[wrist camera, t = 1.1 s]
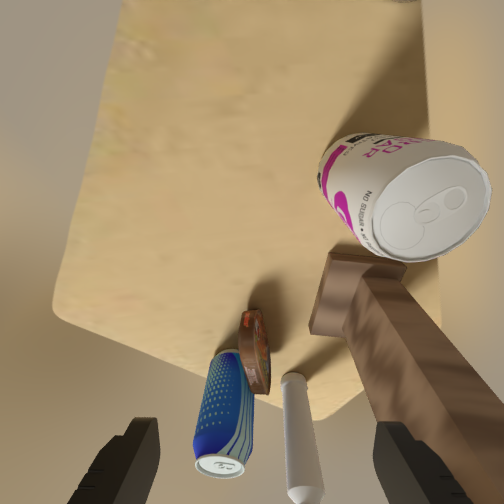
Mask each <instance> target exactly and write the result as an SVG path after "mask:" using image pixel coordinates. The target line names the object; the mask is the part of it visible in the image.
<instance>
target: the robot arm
mask: <svg viewBox="0 0 504 504" xmlns="http://www.w3.org/2000/svg"><path fill="white" fill-rule="evenodd" d="M392 1H396V2H412V1H415V0H392ZM159 459H160V442H159V432H158V423H157V418H150V417H149V418H148V417H147V418H146V417H135V418H134V419H133V420H132V421H131V423H130V424H129V426H128V428H127V430H126V432H125V433H124V435H123V436H117V435H115V436H114V437H113V438H112V439H111V440H110V441H109V442H108V443H107V444H106V445H105V446H104V447H103V448H102V449H101V450H100V451H99V453H98V454H97V456H96V458H95V459H94V461H93V463H92V464H91V466H90V467H89V469H88V473H86V474H85V475H84V477H83V479H82V481H81V482H80V484H79V485H78V489H77V490H75V492H74V493H73V495H72V497H71V498H70V500H69V501H68V503H67V504H145V503H146V500H147V498H148V495H149V492H150V489H151V486H152V483H153V481H154V478H155V475H156V472H157V469H158V465H159ZM373 462H374V467H375V471H376V474H377V476H378V479H379V481H380V483H381V486H382V488H383V490H384V492H385V495H386V497H387V499H388V502H389V504H474V503H473V502H472V501H471V499H470V498H468V497H467V495H466V492H465V491H464V489H463V488H462V487H461V485H460V484H459V482H458V481H457V480H455V479H454V476H453V474H452V473H451V471H450V470H449V469H448V467H447V466H446V464H445V463H444V462H443V460H442V459H441V457H440V456H439V455H438V454H437V453H435V452H434V451H433V450H432V449H431V448H430V447H429V446H428V445H427V444H426V443H424V442H423V441H422V440H415V439H414V438H413V436H412V435H411V433H410V432H409V430H408V429H407V427H406V426H405V425H404V424H403V423H402V422H400V421H379V422H378V423H377V427H376V435H375V442H374V449H373Z"/></svg>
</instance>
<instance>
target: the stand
mask: <svg viewBox="0 0 504 504" xmlns="http://www.w3.org/2000/svg"><path fill="white" fill-rule="evenodd" d="M406 269H407V267H406V266H405V265H404V264H403V263H402V262H401V261H398V260H394V259H387V258H377V257H367V256H357V255H346V254H336V253H328V257H327V261H326V264H325V268H324V271H323V275H322V278H321V282H320V286H319V289H318V293H317V296H316V300H315V304H314V307H313V311H312V314H311V318H310V322H309V330H310V334H311V335H321V336H331V337H341V338H346V341H347V344H348V346H349V349H350V352H351V354H352V357H353V360H354V362H355V365H356V368H357V370H358V373H359V376H360V378H361V381H362V384H363V386H364V389H365V391H366V394H367V397H368V399H369V402H370V404H371V407H372V410H373V412H374V415H375V418H376V421H377V423H378V422H379V421H400V422H402V423H403V424H404V425H405V426H406V427H407V429H408V430H409V432H410V433H411V435H412V436H413V438H414V439H415V440H422V441H423V442H424V443H426V444H427V445H428V446H429V447H430V448H431V449H432V450H433V451H434V452H435V453H437V454H438V455H439V456H440V457H441V459H442V460H443V462H444V463H445V464H446V466H447V467H448V469H449V470H450V471H451V473H452V474H453V476H454V479H455V480H457V481H458V482H459V484H460V485H461V487H462V488H463V489H464V491H465V492H466V495H467V497H468V498H470V499H471V501H472V502H473V503H474V504H504V404H503V403H502V402H501V400H500V399H499V398H498V397H497V396H496V394H495V393H494V392H493V391H492V390H491V389H490V387H489V386H488V385H487V384H486V383H485V382H484V380H483V379H482V378H481V377H480V376H479V374H478V373H477V372H476V371H475V370H474V369H473V367H472V366H471V365H470V364H469V363H468V361H467V360H466V359H465V358H464V357H463V356H462V354H461V353H460V352H459V351H458V350H457V349H456V347H455V346H454V345H453V344H452V343H451V342H450V340H449V339H448V338H447V337H446V336H445V334H444V333H443V332H442V331H441V330H440V329H439V327H438V326H437V325H436V324H435V323H434V322H433V320H432V319H431V318H430V317H429V316H428V314H427V313H426V312H425V311H424V310H423V309H422V307H421V306H420V305H419V304H418V303H417V302H416V300H415V299H414V298H413V297H412V296H411V294H410V293H409V292H408V291H407V290H406V289H405V287H404V286H403V285H402V284H401V283H400V281H401V279H402V277H403V275H404V273H405V271H406Z"/></svg>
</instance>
